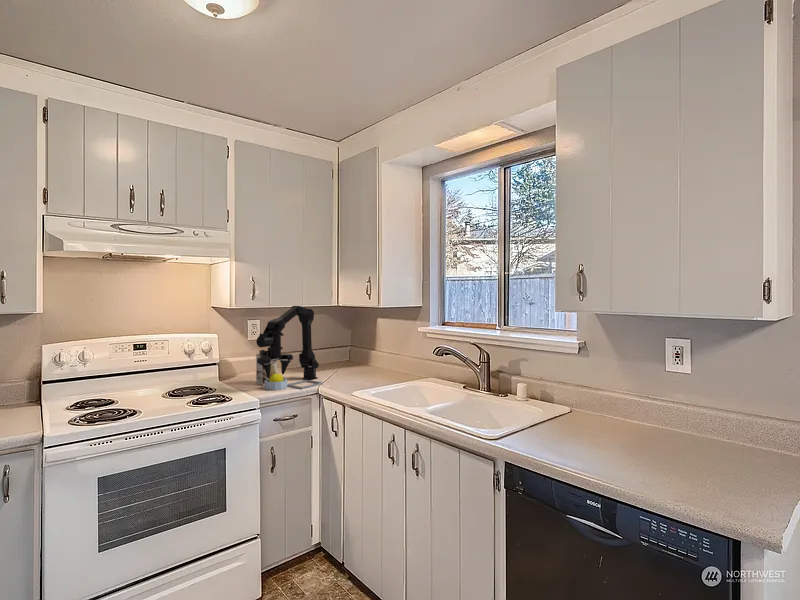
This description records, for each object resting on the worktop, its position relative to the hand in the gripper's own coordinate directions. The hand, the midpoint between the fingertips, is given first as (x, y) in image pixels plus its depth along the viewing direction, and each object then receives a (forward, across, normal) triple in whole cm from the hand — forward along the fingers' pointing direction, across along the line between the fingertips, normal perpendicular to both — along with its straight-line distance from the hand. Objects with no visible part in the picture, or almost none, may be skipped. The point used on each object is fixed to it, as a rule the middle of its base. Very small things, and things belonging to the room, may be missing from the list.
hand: (275, 375), depth 238 cm
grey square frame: (+6, -13, +7) cm, 16 cm away
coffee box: (+7, -5, -14) cm, 16 cm away
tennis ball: (+6, 0, 0) cm, 6 cm away
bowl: (+6, 0, 0) cm, 7 cm away
